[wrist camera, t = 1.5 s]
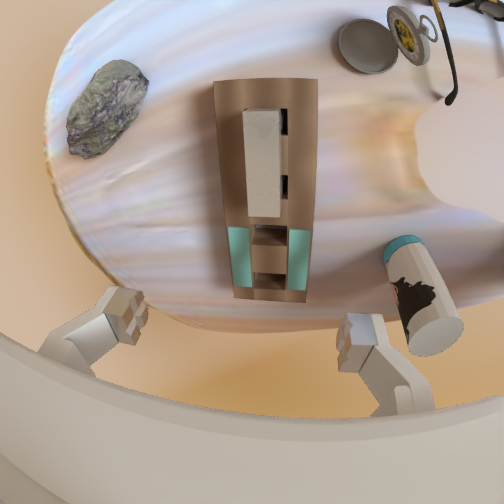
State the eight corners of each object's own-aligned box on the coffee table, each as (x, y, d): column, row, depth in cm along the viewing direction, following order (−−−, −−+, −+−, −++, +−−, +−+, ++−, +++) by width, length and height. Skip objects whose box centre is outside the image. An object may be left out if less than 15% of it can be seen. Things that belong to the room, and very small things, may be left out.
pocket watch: (326, 51, 23) (339, 37, 15) (362, 0, 18) (388, -28, 10) (388, 94, 24) (424, 102, 16) (422, 44, 19) (467, 37, 11)
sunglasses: (444, 104, 23) (465, 110, 19) (416, -10, 15) (432, -20, 11) (517, 110, 19) (539, 118, 15) (497, 8, 11) (518, 6, 7)
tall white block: (283, 104, 27) (278, 111, 21) (284, 186, 33) (279, 217, 26) (255, 104, 28) (242, 111, 21) (259, 186, 33) (248, 216, 27)
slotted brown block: (315, 79, 25) (317, 79, 22) (305, 283, 41) (305, 303, 37) (223, 81, 26) (212, 81, 23) (239, 279, 42) (233, 298, 39)
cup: (373, 259, 37) (396, 345, 24) (406, 226, 33) (447, 306, 21) (401, 280, 38) (426, 362, 26) (432, 251, 34) (472, 330, 22)
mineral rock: (95, 157, 34) (49, 185, 26) (72, 95, 28) (20, 110, 20) (166, 124, 30) (122, 144, 22) (140, 50, 25) (88, 49, 17)
